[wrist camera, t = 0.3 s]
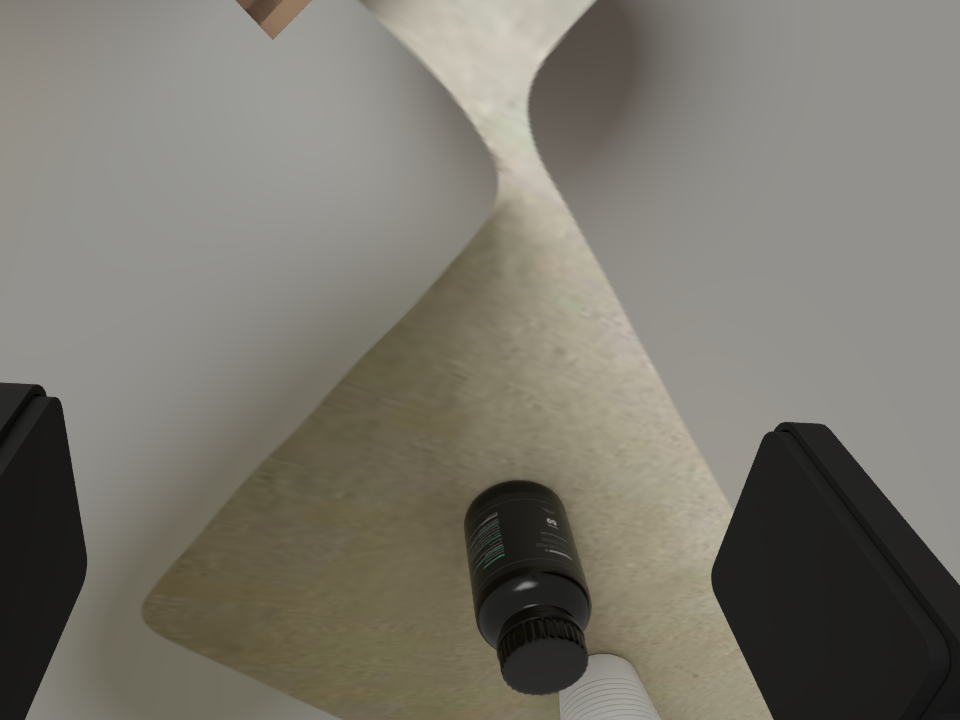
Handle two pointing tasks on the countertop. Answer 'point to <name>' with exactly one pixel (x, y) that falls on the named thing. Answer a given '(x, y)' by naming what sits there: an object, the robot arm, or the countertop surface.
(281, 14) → the wooden u-shaped frame
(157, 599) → the countertop surface
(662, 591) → the countertop surface
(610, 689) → the cup
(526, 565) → the supplement bottle
